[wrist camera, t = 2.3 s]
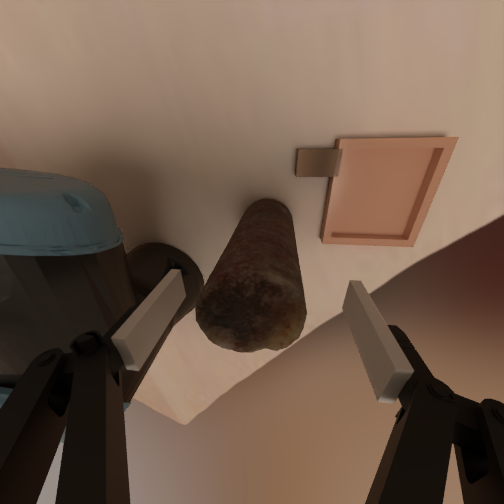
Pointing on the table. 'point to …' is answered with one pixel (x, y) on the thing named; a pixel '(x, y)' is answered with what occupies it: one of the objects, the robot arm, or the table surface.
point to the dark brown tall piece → (255, 284)
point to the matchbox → (317, 162)
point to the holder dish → (383, 189)
